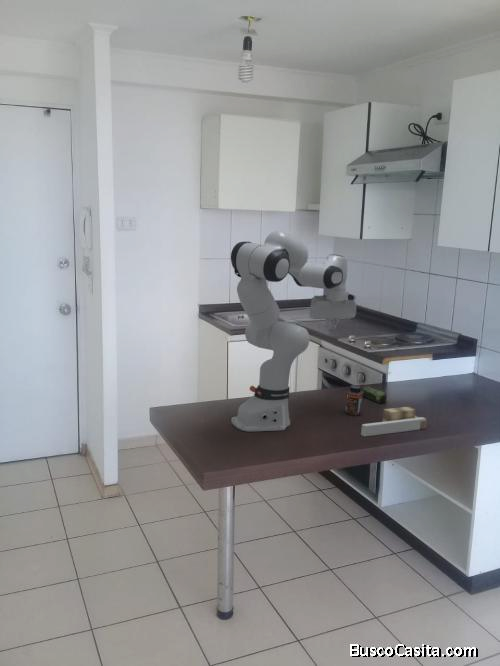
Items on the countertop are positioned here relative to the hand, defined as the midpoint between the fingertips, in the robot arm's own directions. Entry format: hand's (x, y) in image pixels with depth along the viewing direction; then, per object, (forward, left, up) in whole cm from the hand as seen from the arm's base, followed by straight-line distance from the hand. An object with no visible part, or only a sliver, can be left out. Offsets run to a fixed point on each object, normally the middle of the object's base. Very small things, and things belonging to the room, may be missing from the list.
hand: (331, 329), depth 245 cm
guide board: (+10, -28, -33) cm, 44 cm away
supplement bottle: (+7, -10, -33) cm, 36 cm away
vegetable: (+27, +4, -34) cm, 43 cm away
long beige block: (+15, -28, -33) cm, 46 cm away
